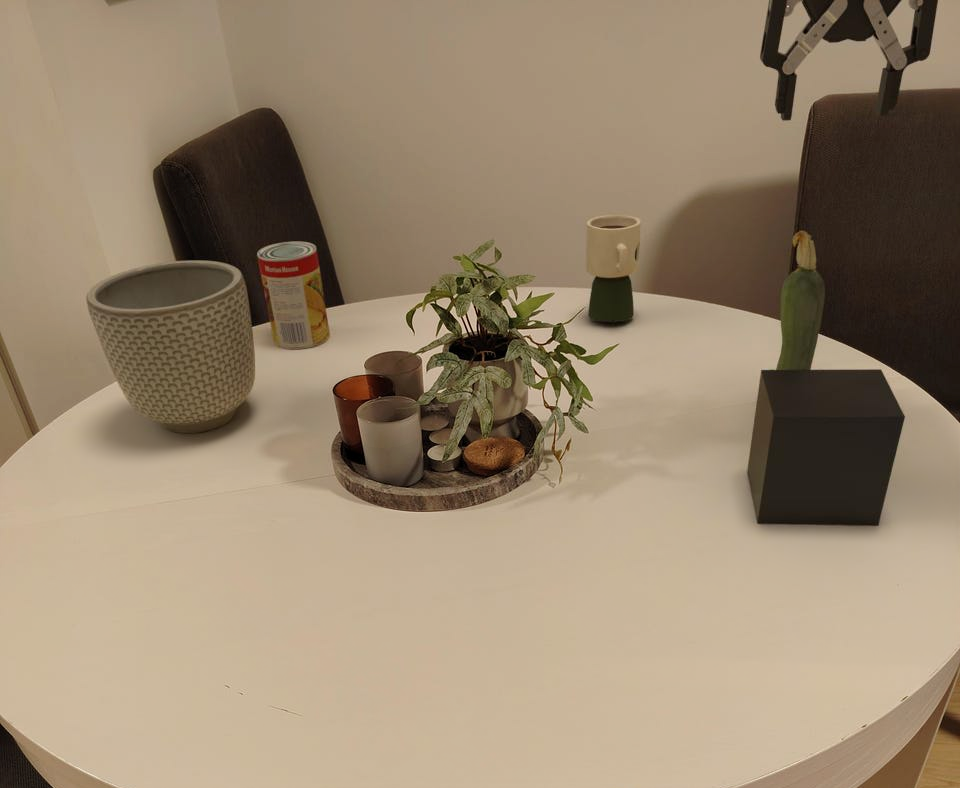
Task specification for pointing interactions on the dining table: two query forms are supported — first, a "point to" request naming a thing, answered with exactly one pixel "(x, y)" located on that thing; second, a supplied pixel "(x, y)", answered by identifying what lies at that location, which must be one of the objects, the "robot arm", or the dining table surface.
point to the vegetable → (801, 308)
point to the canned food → (294, 294)
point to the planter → (178, 340)
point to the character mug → (612, 265)
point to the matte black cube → (823, 446)
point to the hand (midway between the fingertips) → (833, 117)
